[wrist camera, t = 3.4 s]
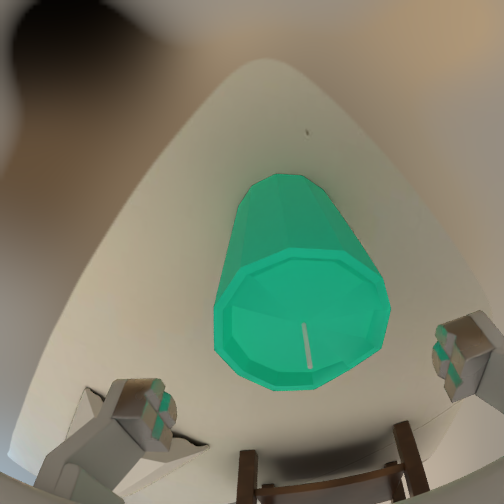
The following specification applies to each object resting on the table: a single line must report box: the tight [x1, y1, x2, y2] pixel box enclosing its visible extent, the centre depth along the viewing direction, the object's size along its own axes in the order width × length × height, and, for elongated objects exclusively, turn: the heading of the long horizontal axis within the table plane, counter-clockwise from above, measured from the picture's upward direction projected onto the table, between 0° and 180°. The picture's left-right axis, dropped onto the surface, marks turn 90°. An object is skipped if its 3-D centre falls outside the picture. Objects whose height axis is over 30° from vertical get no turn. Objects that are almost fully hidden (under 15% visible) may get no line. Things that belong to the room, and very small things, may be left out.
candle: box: [214, 174, 391, 391], centre depth 14 cm, size 6×6×12 cm
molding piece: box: [66, 389, 210, 498], centre depth 35 cm, size 32×12×10 cm
